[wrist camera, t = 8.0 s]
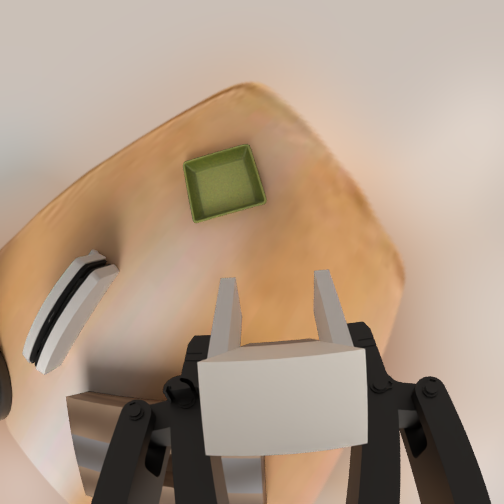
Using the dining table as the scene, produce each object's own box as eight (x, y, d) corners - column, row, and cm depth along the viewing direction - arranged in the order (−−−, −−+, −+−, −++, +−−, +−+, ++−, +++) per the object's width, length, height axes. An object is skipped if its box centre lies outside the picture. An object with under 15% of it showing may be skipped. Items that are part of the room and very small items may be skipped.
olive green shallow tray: (186, 169, 38) (181, 161, 36) (250, 151, 38) (248, 142, 36) (198, 229, 36) (193, 223, 34) (268, 210, 35) (267, 202, 33)
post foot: (266, 502, 26) (264, 524, 21) (104, 481, 28) (85, 494, 23) (261, 402, 30) (258, 415, 25) (89, 391, 31) (66, 396, 26)
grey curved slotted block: (97, 247, 36) (68, 241, 26) (123, 269, 37) (101, 270, 27) (40, 341, 33) (5, 359, 24) (64, 362, 34) (34, 386, 24)
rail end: (312, 375, 18) (367, 443, 6) (252, 380, 19) (205, 455, 6) (310, 338, 19) (365, 348, 7) (249, 343, 19) (197, 362, 7)
